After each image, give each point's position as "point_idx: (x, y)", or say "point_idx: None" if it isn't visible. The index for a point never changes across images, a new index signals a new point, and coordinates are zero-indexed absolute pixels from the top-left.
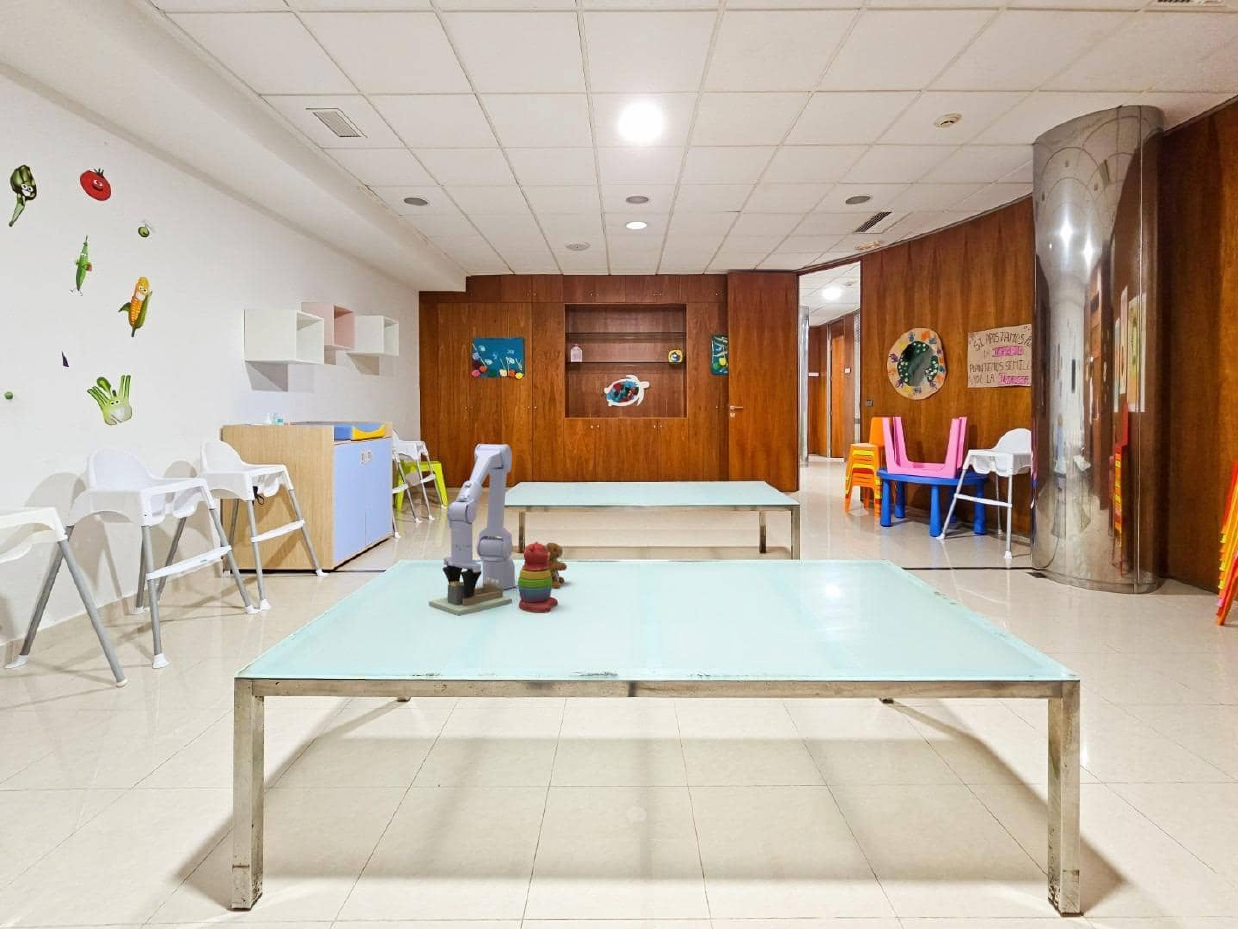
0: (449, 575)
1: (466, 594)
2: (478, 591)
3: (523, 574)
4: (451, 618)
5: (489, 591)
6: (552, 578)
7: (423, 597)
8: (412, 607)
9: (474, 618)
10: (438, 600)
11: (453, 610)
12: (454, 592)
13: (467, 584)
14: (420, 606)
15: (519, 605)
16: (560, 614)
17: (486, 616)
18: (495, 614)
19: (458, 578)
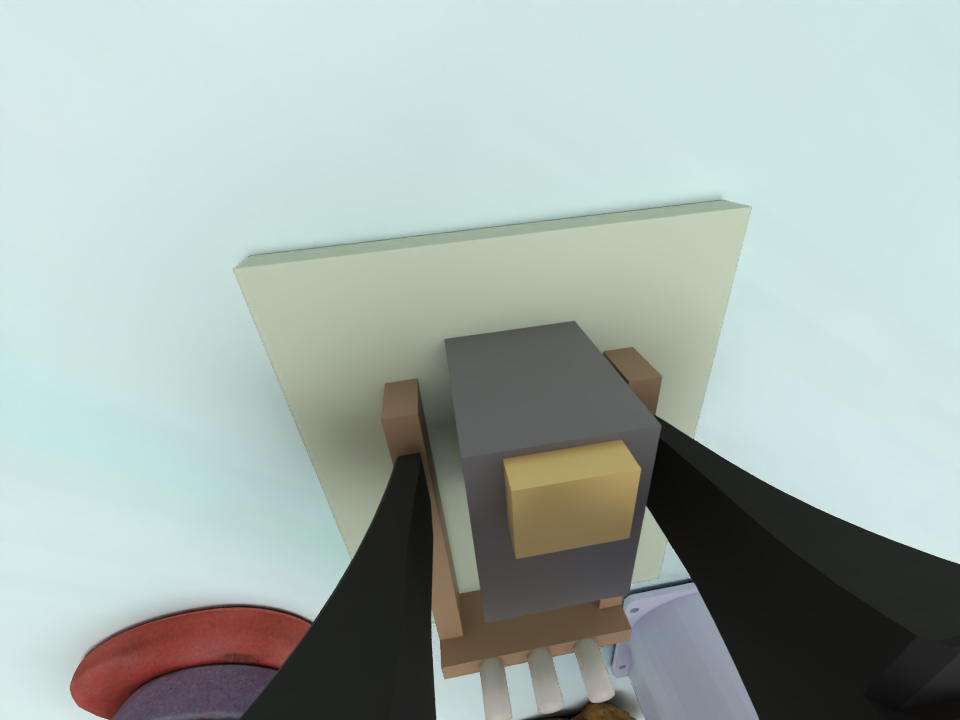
0: (786, 558)
1: (392, 471)
2: None
3: None
4: (178, 148)
5: None
6: None
7: (919, 283)
8: (818, 23)
9: (92, 326)
10: (696, 290)
11: (329, 254)
12: (494, 403)
13: (345, 584)
14: (771, 120)
15: (243, 622)
16: (21, 694)
17: (126, 419)
18: (162, 480)
19: (703, 581)
